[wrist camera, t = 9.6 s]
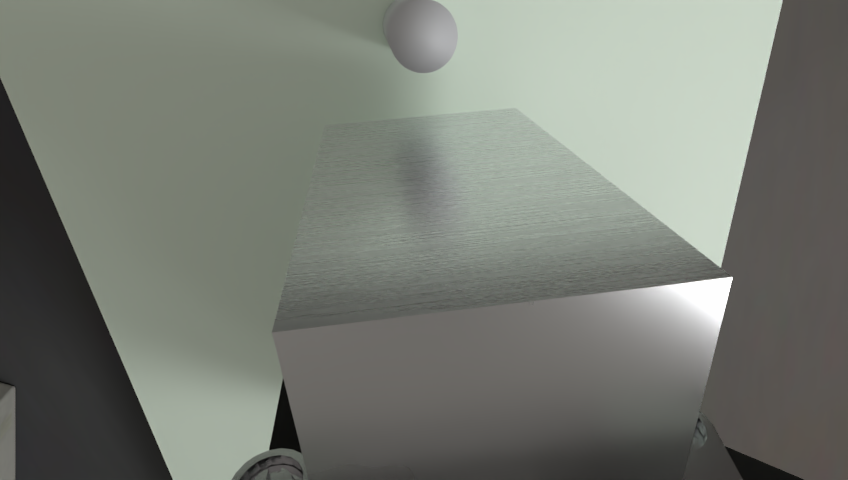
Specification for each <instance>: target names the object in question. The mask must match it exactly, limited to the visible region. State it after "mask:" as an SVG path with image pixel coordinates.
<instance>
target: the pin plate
mask: <svg viewBox="0 0 848 480" xmlns="http://www.w3.org/2000/svg"><path fill="white" fill-rule="evenodd" d="M782 1H783V0H0V78H1V81H2V83H3V85H4V88H5V90H6V92H7V95H8V97H9V99H10V102H11V104H12V106H13V109H14V111H15V113H16V116H17V118H18V120H19V123H20V125H21V127H22V130H23V132H24V134H25V137H26V139H27V141H28V144H29V146H30V148H31V151H32V153H33V155H34V158H35V160H36V162H37V164H38V167H39V169H40V171H41V174H42V176H43V178H44V181H45V183H46V185H47V188H48V190H49V192H50V195H51V197H52V199H53V202H54V204H55V206H56V209H57V211H58V213H59V216H60V218H61V220H62V223H63V225H64V227H65V230H66V232H67V234H68V237H69V239H70V241H71V244H72V246H73V248H74V251H75V253H76V255H77V258H78V260H79V262H80V265H81V267H82V269H83V272H84V274H85V276H86V279H87V281H88V283H89V286H90V288H91V290H92V293H93V295H94V297H95V300H96V302H97V304H98V307H99V309H100V311H101V314H102V316H103V318H104V320H105V323H106V325H107V327H108V330H109V332H110V334H111V337H112V339H113V341H114V344H115V346H116V348H117V351H118V353H119V355H120V358H121V360H122V362H123V365H124V367H125V369H126V372H127V374H128V376H129V379H130V381H131V383H132V386H133V388H134V390H135V393H136V395H137V397H138V400H139V402H140V404H141V407H142V409H143V411H144V414H145V416H146V418H147V421H148V423H149V425H150V428H151V430H152V432H153V435H154V437H155V439H156V442H157V444H158V446H159V449H160V451H161V453H162V456H163V458H164V460H165V463H166V465H167V467H168V470H169V472H170V474H171V476H172V479H173V480H232V478H233V477H234V475H235V473H236V472H237V471H238V470H239V469H240V468H241V467H242V466H243V465H244V463H246V462H247V461H249V460H250V459H252V458H253V457H255V456H256V455H258V454H261V453H263V452H266V451H268V450H269V447H270V442H271V437H272V432H273V427H274V422H275V416H276V411H277V406H278V401H279V396H280V391H281V386H282V381H283V375H282V371H281V367H280V363H279V359H278V355H277V351H276V347H275V343H274V339H273V335H272V330H273V326H274V322H275V318H276V314H277V310H278V306H279V302H280V298H281V295H282V291H283V287H284V283H285V279H286V275H287V271H288V267H289V263H290V259H291V255H292V251H293V248H294V244H295V240H296V236H297V232H298V228H299V224H300V220H301V216H302V212H303V208H304V204H305V201H306V197H307V193H308V189H309V185H310V181H311V177H312V173H313V169H314V165H315V161H316V157H317V154H318V150H319V146H320V142H321V138H322V134H323V130H324V126H325V125H334V124H344V123H355V122H366V121H377V120H388V119H399V118H410V117H420V116H431V115H442V114H453V113H464V112H475V111H485V110H496V109H507V108H517V109H518V110H519V111H520V112H522V113H523V114H524V115H526V116H527V117H528V118H529V119H531V120H532V121H533V122H534V123H536V124H537V125H538V126H540V127H541V128H542V129H543V130H545V131H546V132H547V133H549V134H550V135H551V136H552V137H554V138H555V139H556V140H558V141H559V142H560V143H561V144H563V145H564V146H565V147H566V148H568V149H569V150H570V151H572V152H573V153H574V154H575V155H577V156H578V157H579V158H581V159H582V160H583V161H584V162H586V163H587V164H588V165H590V166H591V167H592V168H593V169H595V170H596V171H597V172H598V173H600V174H601V175H602V176H604V177H605V178H606V179H607V180H609V181H610V182H611V183H613V184H614V185H615V186H616V187H618V188H619V189H620V190H622V191H623V192H624V193H625V194H627V195H628V196H629V197H631V198H632V199H633V200H634V201H636V202H637V203H638V204H639V205H641V206H642V207H643V208H645V209H646V210H647V211H648V212H650V213H651V214H652V215H654V216H655V217H656V218H657V219H659V220H660V221H661V222H663V223H664V224H665V225H666V226H668V227H669V228H670V229H671V230H673V231H674V232H675V233H677V234H678V235H679V236H680V237H682V238H683V239H684V240H686V241H687V242H688V243H689V244H691V245H692V246H693V247H695V248H696V249H697V250H698V251H700V252H701V253H702V254H703V255H705V256H706V257H707V258H709V259H710V260H711V261H712V262H714V263H715V264H716V265H718V266H719V267H720V268H721V264H722V260H723V256H724V251H725V247H726V243H727V238H728V234H729V230H730V225H731V221H732V217H733V213H734V208H735V204H736V200H737V195H738V191H739V187H740V182H741V178H742V174H743V169H744V165H745V161H746V156H747V152H748V148H749V143H750V139H751V135H752V130H753V126H754V122H755V118H756V113H757V109H758V105H759V100H760V96H761V92H762V87H763V83H764V79H765V74H766V70H767V66H768V61H769V57H770V53H771V48H772V44H773V40H774V36H775V31H776V27H777V23H778V18H779V14H780V10H781V5H782Z"/></svg>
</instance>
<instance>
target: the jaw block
mask: <svg viewBox="0 0 848 480" xmlns="http://www.w3.org/2000/svg"><path fill="white" fill-rule="evenodd" d="M732 278H733V277H732V276H730V275H729V274H728V273H727V272H725V271H724V270H723V269H721V268H720V267H719V266H718V265H716V264H715V263H714V262H712V261H711V260H710V259H709V258H707V257H706V256H705V255H703V254H702V253H701V252H700V251H698V250H697V249H696V248H695V247H693V246H692V245H691V244H689V243H688V242H687V241H686V240H684V239H683V238H682V237H680V236H679V235H678V234H677V233H675V232H674V231H673V230H671V229H670V228H669V227H668V226H666V225H665V224H664V223H663V222H661V221H660V220H659V219H657V218H656V217H655V216H654V215H652V214H651V213H650V212H648V211H647V210H646V209H645V208H643V207H642V206H641V205H639V204H638V203H637V202H636V201H634V200H633V199H632V198H631V197H629V196H628V195H627V194H625V193H624V192H623V191H622V190H620V189H619V188H618V187H616V186H615V185H614V184H613V183H611V182H610V181H609V180H607V179H606V178H605V177H604V176H602V175H601V174H600V173H598V172H597V171H596V170H595V169H593V168H592V167H591V166H590V165H588V164H587V163H586V162H584V161H583V160H582V159H581V158H579V157H578V156H577V155H575V154H574V153H573V152H572V151H570V150H569V149H568V148H566V147H565V146H564V145H563V144H561V143H560V142H559V141H558V140H556V139H555V138H554V137H552V136H551V135H550V134H549V133H547V132H546V131H545V130H543V129H542V128H541V127H540V126H538V125H537V124H536V123H534V122H533V121H532V120H531V119H529V118H528V117H527V116H526V115H524V114H523V113H522V112H520V111H519V110H518V109H517V108H507V109H496V110H485V111H475V112H464V113H453V114H442V115H431V116H420V117H410V118H399V119H388V120H377V121H366V122H355V123H344V124H334V125H325V126H324V130H323V134H322V138H321V142H320V146H319V150H318V154H317V157H316V161H315V165H314V169H313V173H312V177H311V181H310V185H309V189H308V193H307V197H306V201H305V204H304V208H303V212H302V216H301V220H300V224H299V228H298V232H297V236H296V240H295V244H294V248H293V251H292V255H291V259H290V263H289V267H288V271H287V275H286V279H285V283H284V287H283V291H282V295H281V298H280V302H279V306H278V310H277V314H276V318H275V322H274V326H273V330H272V335H273V339H274V343H275V347H276V351H277V355H278V359H279V363H280V367H281V371H282V375H283V379H284V383H285V387H286V391H287V395H288V399H289V403H290V407H291V411H292V415H293V419H294V423H295V427H296V431H297V435H298V439H299V443H300V447H301V451H302V455H303V459H304V463H305V467H306V471H307V475H308V479H309V480H683V476H684V472H685V468H686V464H687V460H688V456H689V452H690V448H691V444H692V440H693V436H694V432H695V428H696V424H697V420H698V415H699V411H700V407H701V403H702V399H703V395H704V391H705V387H706V383H707V379H708V375H709V371H710V367H711V363H712V359H713V355H714V351H715V347H716V342H717V338H718V334H719V330H720V326H721V322H722V318H723V314H724V310H725V306H726V302H727V298H728V294H729V290H730V286H731V282H732Z"/></svg>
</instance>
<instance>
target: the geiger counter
mask: <svg viewBox="0 0 848 480" xmlns="http://www.w3.org/2000/svg"><path fill="white" fill-rule="evenodd" d="M0 480H15V387H14V386H11V385H8V384H4V383H1V382H0Z"/></svg>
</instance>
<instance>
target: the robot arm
mask: <svg viewBox="0 0 848 480" xmlns="http://www.w3.org/2000/svg"><path fill="white" fill-rule="evenodd" d="M232 480H309V479H308V475H307V471H306V467H305V463H304V459H303V455H302V451H301V447H300V443H299V439H298V435H297V431H296V427H295V423H294V419H293V415H292V411H291V407H290V403H289V399H288V395H287V391H286V387H285V383H284V379H283V381H282V386H281V391H280V396H279V401H278V406H277V411H276V416H275V422H274V427H273V432H272V437H271V442H270V447H269V450H268V451H266V452H263V453H261V454H258V455H256V456H255V457H253V458H252V459H250V460H249V461H247V462H246V463H244V465H243V466H242V467H241V468H240V469H239V470H238V471H237V472H236V473H235V475H234V477H233V478H232ZM683 480H803V479H801V478H799V477H796V476H794V475H792V474H789V473H787V472H785V471H782V470H780V469H777V468H775V467H773V466H770V465H768V464H766V463H763V462H761V461H759V460H756V459H754V458H751V457H749V456H747V455H744V454H742V453H740V452H737V451H735V450H732V449H730V448H728V447H725V446H724V444H723V442H722V440H721V439H720V437H719V435H718V433H717V431H716V430H715V428H714V426H713V425H712V423H711V422H710V421H709V419H708V418H707V417H706V416H705V415H704V414H702V413H701V412H700V411H699V415H698V420H697V424H696V428H695V432H694V436H693V440H692V444H691V448H690V452H689V456H688V460H687V464H686V468H685V472H684V476H683Z"/></svg>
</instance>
